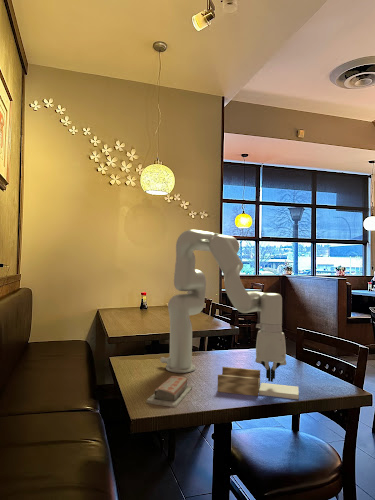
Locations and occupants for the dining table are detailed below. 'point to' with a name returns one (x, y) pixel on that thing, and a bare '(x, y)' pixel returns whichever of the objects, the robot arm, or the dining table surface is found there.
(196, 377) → the dining table surface
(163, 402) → the packaged product
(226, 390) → the box
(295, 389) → the cover plate
